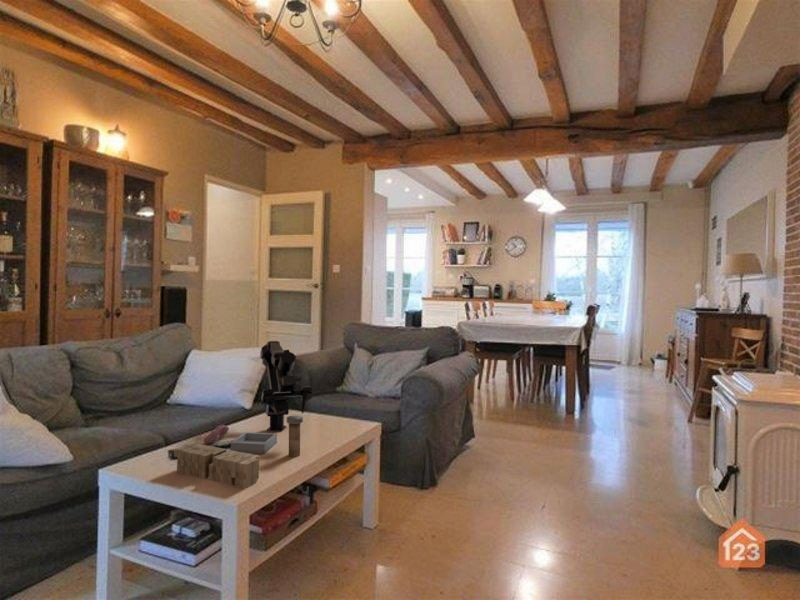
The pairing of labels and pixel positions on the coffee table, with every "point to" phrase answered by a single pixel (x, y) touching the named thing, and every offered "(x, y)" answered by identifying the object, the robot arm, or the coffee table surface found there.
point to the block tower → (217, 464)
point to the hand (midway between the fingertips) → (290, 413)
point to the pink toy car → (216, 434)
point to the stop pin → (294, 434)
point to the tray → (254, 443)
